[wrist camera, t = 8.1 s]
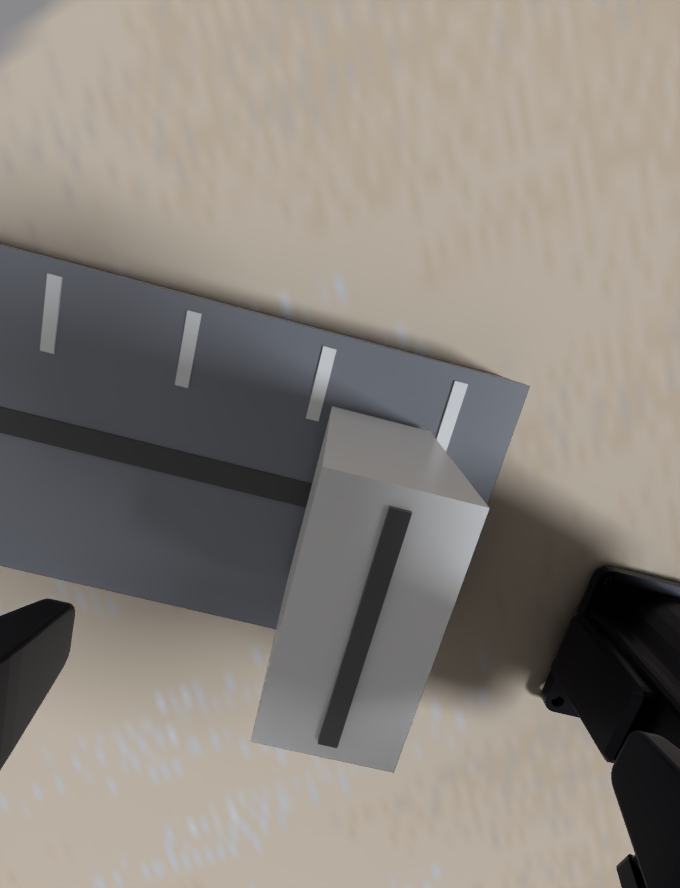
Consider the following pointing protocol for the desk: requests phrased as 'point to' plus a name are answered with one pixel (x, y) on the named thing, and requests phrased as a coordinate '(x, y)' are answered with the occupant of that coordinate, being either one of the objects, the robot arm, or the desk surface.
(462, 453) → the fader board
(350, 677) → the fader knob
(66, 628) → the robot arm
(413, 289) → the desk surface
